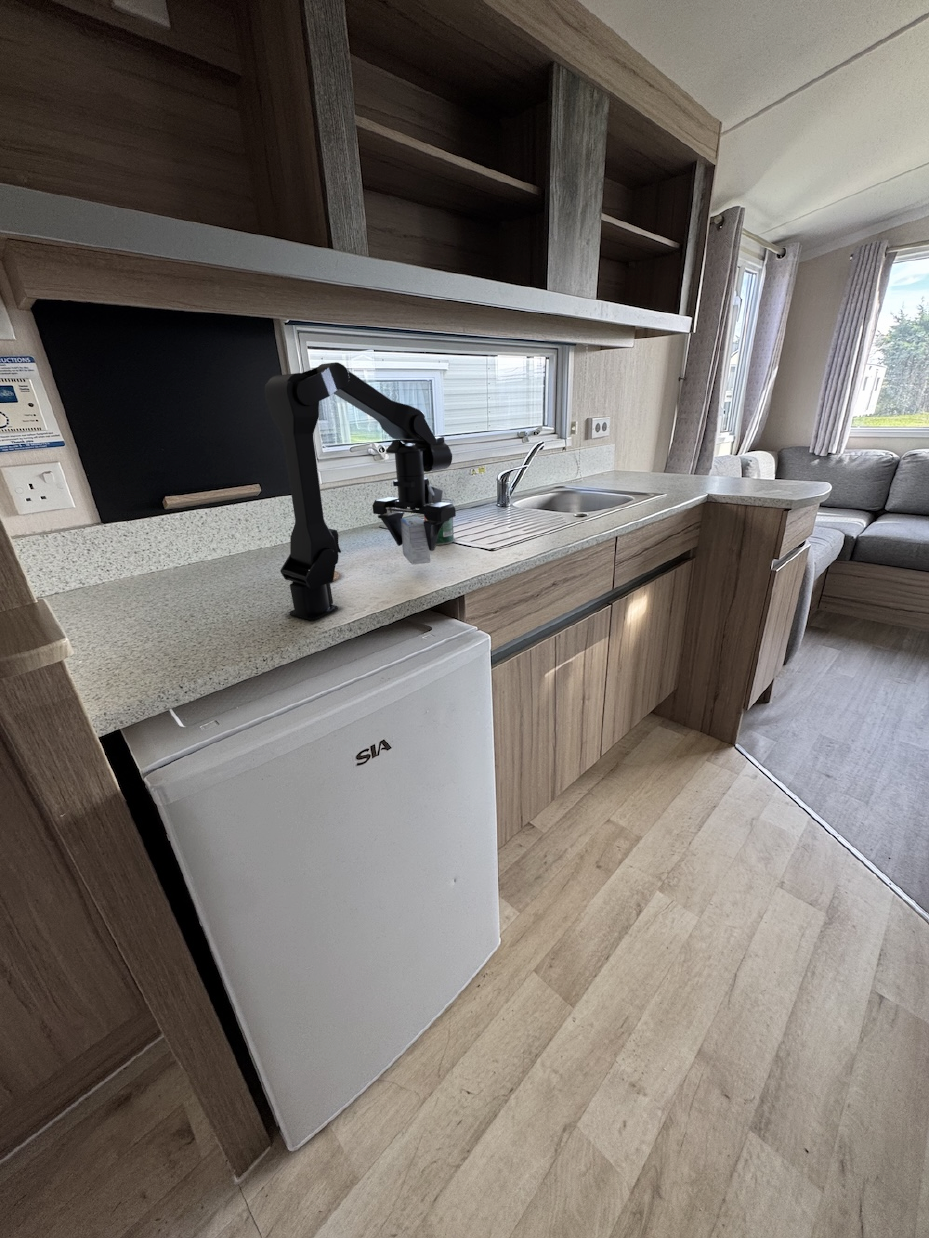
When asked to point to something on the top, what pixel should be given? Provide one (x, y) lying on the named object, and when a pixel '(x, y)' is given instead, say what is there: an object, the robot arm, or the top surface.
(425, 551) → the medicine box
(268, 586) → the top surface
